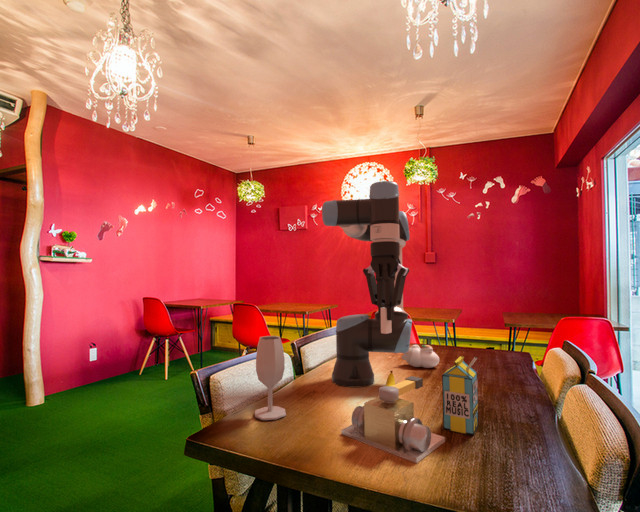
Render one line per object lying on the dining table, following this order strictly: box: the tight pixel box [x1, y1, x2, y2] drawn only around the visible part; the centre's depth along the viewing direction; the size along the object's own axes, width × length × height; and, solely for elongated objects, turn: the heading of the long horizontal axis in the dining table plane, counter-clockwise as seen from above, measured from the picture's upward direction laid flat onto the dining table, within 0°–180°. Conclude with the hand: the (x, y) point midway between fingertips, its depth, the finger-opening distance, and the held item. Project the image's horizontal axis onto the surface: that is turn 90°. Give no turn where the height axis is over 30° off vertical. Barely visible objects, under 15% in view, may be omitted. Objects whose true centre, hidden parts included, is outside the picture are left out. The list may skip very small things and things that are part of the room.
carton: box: [441, 356, 479, 437], centre depth 92 cm, size 7×8×18 cm
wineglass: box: [254, 335, 287, 421], centre depth 101 cm, size 9×9×21 cm
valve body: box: [340, 396, 446, 464], centre depth 87 cm, size 20×13×10 cm, turn 46°
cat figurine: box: [401, 344, 440, 369], centre depth 151 cm, size 10×8×15 cm
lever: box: [378, 375, 424, 401], centre depth 88 cm, size 15×4×2 cm, turn 136°
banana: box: [385, 370, 396, 386], centre depth 112 cm, size 3×19×6 cm, turn 163°
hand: (386, 332), depth 95 cm, fingers closed
